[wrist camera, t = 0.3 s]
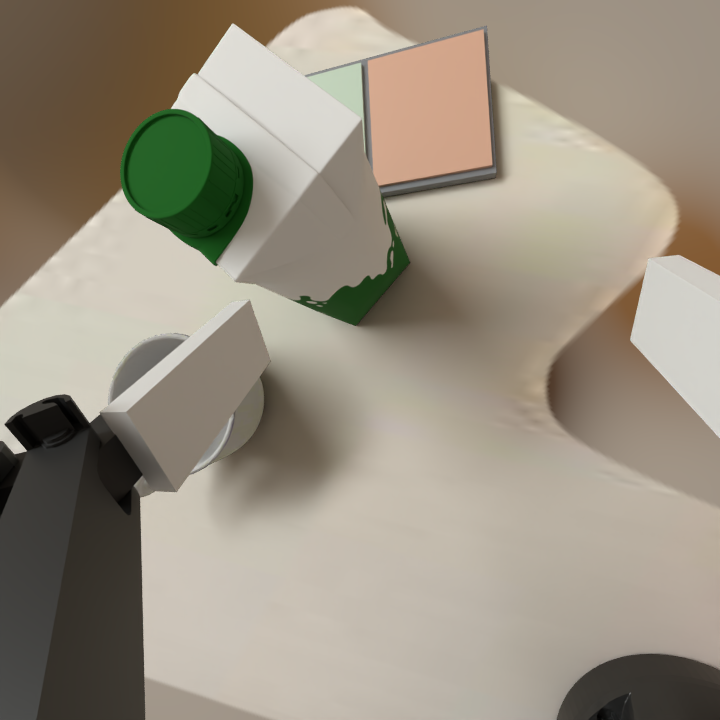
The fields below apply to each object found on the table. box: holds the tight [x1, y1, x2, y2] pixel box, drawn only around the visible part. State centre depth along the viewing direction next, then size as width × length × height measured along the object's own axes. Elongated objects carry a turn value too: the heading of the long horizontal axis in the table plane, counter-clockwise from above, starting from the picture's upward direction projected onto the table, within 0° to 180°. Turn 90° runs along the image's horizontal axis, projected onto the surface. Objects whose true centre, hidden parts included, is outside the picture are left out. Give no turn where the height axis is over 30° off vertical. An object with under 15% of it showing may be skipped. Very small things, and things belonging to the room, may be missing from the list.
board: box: [304, 26, 497, 197], centre depth 31 cm, size 12×20×1 cm, turn 93°
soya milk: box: [120, 24, 410, 326], centre depth 22 cm, size 9×9×20 cm
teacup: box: [108, 333, 264, 497], centre depth 31 cm, size 14×11×8 cm
